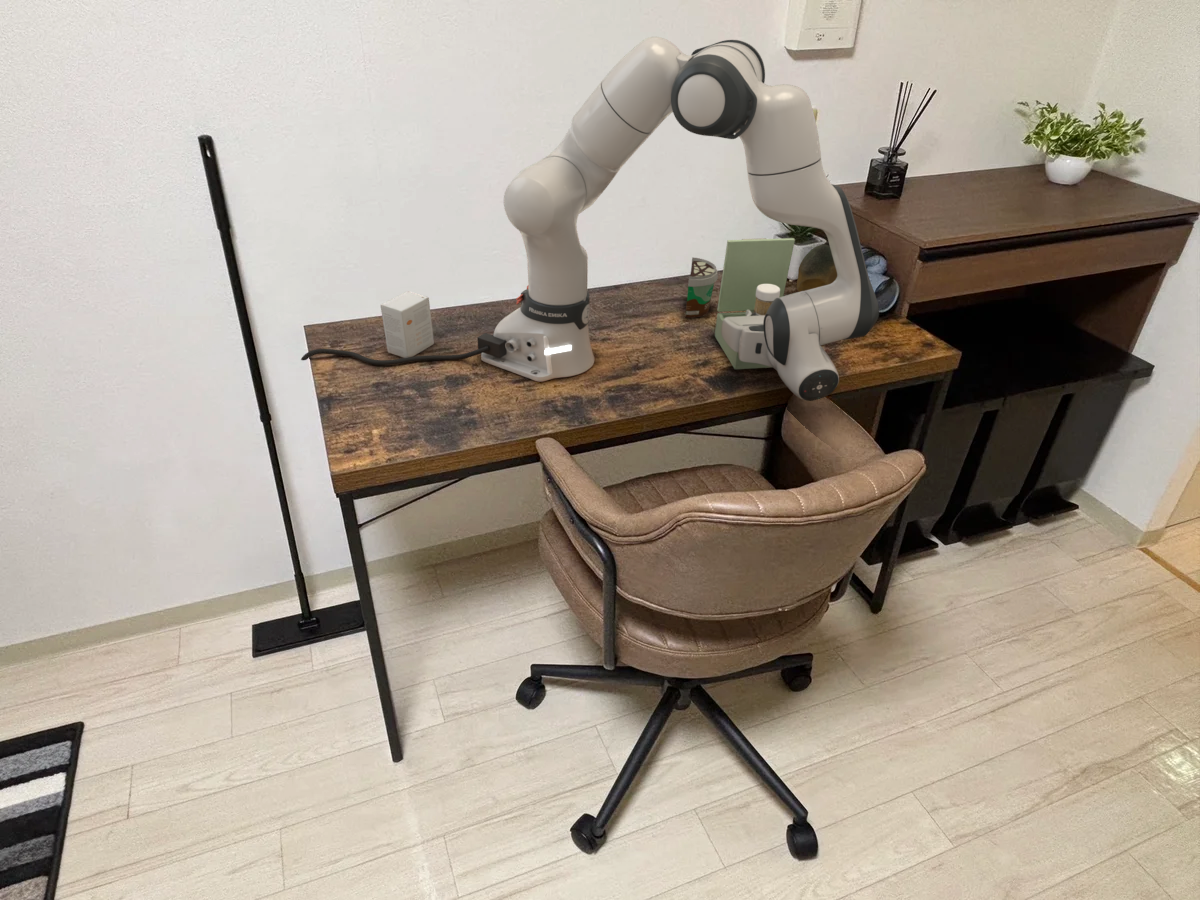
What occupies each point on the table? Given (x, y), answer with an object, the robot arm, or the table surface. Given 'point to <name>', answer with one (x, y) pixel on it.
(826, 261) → the decorative stone
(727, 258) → the lid
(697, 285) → the food container
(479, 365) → the table surface
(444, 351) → the table surface
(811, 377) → the robot arm
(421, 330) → the small box
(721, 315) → the chest
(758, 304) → the sprinkles bottle
